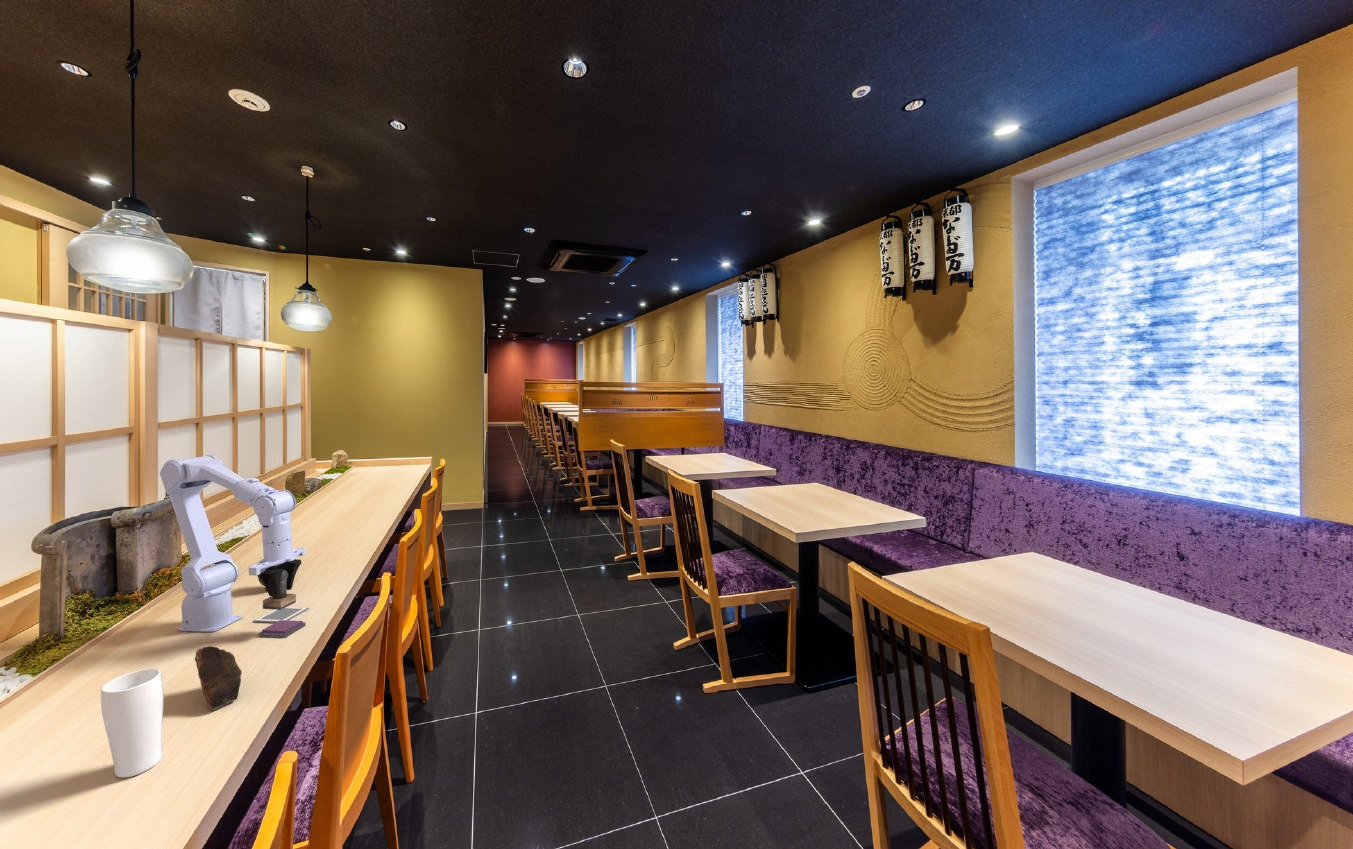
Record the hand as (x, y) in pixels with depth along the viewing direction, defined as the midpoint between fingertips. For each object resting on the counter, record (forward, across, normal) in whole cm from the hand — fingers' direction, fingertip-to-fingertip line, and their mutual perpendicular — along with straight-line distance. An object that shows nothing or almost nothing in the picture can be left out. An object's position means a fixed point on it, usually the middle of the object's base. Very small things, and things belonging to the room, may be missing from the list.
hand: (280, 592), depth 125 cm
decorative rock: (+10, -26, -10) cm, 29 cm away
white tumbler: (+10, -44, -14) cm, 47 cm away
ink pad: (+10, 0, 0) cm, 10 cm away
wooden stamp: (+3, 0, 0) cm, 3 cm away
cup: (+10, +24, +24) cm, 36 cm away
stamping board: (+10, +8, +8) cm, 15 cm away
